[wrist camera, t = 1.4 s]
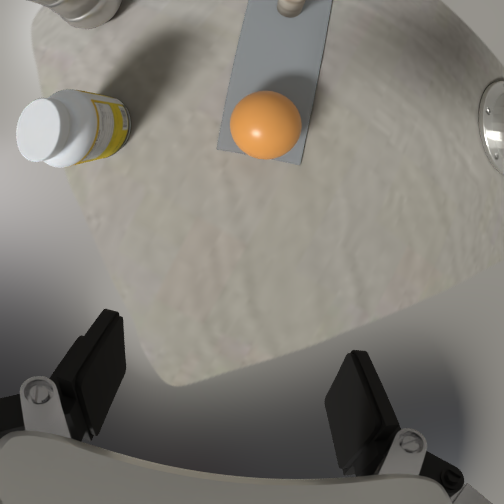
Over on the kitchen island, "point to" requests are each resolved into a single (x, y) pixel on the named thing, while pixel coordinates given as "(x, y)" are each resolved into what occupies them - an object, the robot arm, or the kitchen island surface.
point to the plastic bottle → (83, 11)
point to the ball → (265, 124)
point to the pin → (290, 7)
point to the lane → (277, 63)
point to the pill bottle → (72, 128)
